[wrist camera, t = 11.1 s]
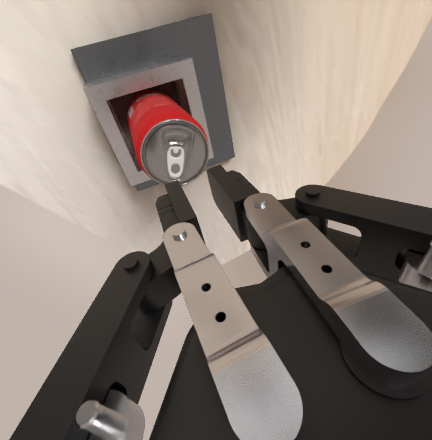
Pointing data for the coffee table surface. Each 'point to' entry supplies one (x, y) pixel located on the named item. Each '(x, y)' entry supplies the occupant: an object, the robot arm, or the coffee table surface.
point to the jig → (159, 83)
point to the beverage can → (166, 138)
